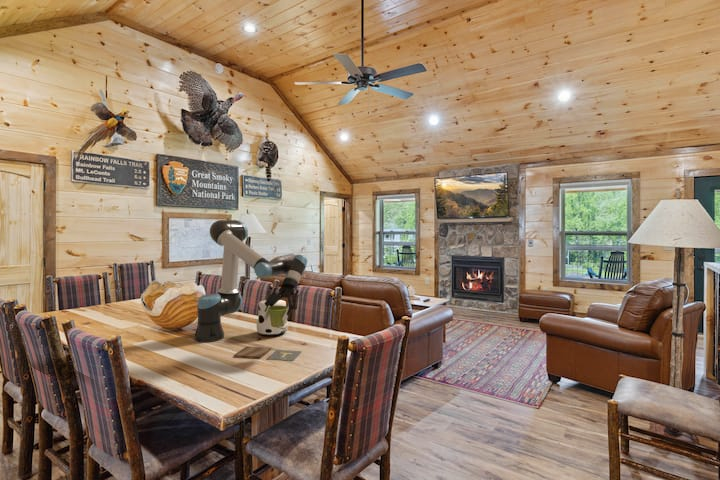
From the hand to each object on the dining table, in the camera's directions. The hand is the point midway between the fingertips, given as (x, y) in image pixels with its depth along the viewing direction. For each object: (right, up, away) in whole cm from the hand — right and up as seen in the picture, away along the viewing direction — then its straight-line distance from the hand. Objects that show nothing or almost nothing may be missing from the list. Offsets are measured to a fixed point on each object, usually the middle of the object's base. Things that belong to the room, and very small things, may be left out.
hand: (274, 319), depth 178 cm
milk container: (-10, -16, +40) cm, 44 cm away
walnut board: (-12, -17, +6) cm, 22 cm away
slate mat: (+4, -18, +3) cm, 18 cm away
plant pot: (+1, -4, +3) cm, 5 cm away
